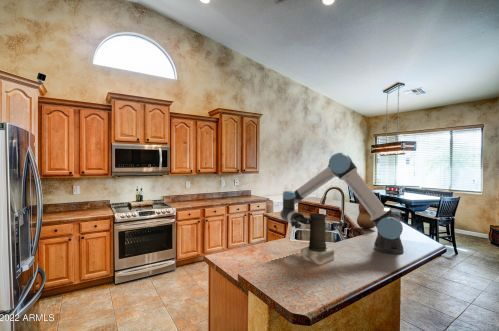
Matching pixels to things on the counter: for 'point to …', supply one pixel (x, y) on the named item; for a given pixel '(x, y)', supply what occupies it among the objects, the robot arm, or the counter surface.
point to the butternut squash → (364, 218)
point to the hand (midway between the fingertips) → (316, 226)
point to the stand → (317, 255)
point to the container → (317, 232)
